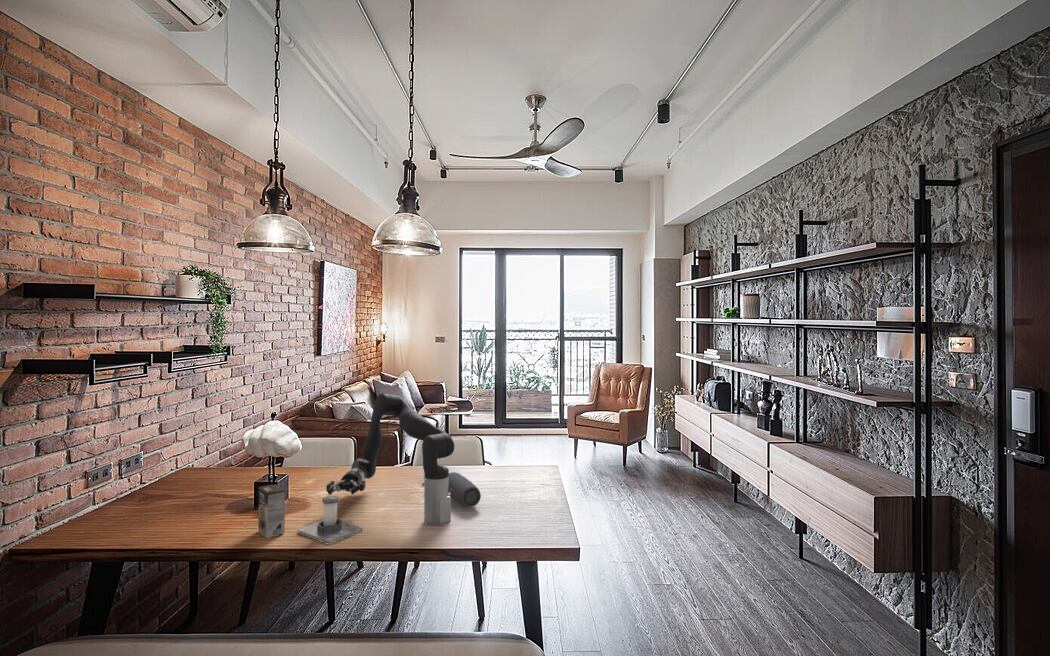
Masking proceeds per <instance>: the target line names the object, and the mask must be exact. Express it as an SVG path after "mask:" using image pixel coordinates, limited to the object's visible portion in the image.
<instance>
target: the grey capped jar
mask: <svg viewBox="0 0 1050 656" xmlns="http://www.w3.org/2000/svg"><path fill="white" fill-rule="evenodd" d="M338 502H339V496H338V495H327V496H325V497H322V503H323V504H322V505H323V509H322V511H323V516H322V517H323V518H322V520H323V527H331V526H335V525H337V519H338Z"/></svg>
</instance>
